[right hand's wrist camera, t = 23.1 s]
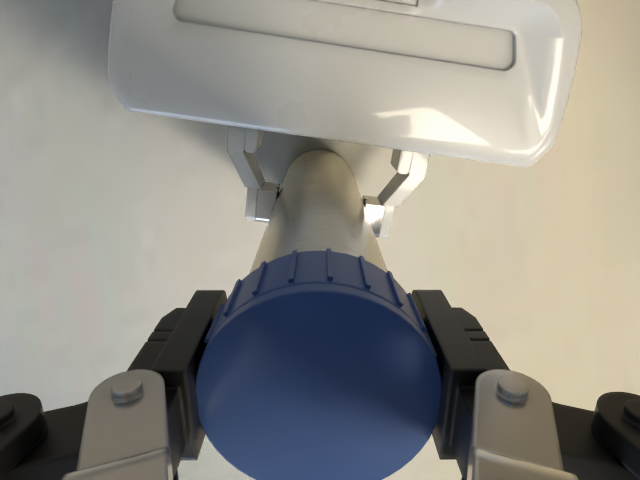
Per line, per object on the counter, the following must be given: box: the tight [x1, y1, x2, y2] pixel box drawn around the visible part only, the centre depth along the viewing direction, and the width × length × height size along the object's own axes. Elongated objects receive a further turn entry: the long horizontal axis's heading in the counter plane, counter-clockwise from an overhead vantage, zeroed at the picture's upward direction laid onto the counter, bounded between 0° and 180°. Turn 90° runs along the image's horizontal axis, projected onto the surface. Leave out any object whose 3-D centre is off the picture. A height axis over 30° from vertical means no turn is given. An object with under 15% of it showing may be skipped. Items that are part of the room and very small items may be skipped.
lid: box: [195, 248, 442, 480], centre depth 10 cm, size 5×5×2 cm
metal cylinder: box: [249, 150, 388, 274], centre depth 19 cm, size 4×4×20 cm
